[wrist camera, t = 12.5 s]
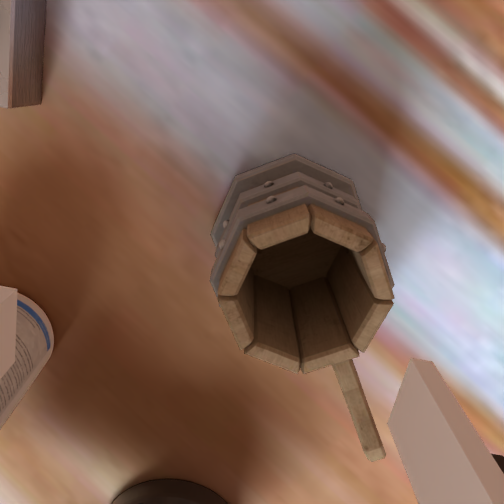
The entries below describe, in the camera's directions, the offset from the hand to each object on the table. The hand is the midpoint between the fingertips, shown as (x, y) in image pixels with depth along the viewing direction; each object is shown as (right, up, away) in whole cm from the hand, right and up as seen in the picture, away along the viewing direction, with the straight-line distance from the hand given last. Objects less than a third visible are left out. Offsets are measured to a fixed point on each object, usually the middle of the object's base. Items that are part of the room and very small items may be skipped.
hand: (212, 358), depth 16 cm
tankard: (+6, +2, +28) cm, 28 cm away
